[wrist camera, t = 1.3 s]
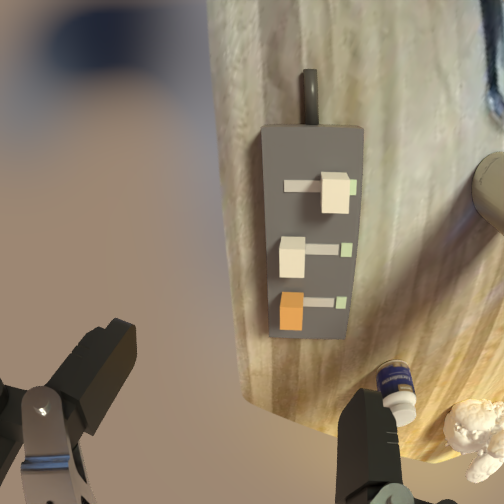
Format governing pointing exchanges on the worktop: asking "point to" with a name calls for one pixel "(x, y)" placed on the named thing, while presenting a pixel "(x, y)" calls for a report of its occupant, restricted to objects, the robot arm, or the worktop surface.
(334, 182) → the switch
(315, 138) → the slider control box
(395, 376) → the pill bottle
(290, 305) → the switch
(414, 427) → the worktop surface
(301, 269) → the switch
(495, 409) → the white plaster sculpture
